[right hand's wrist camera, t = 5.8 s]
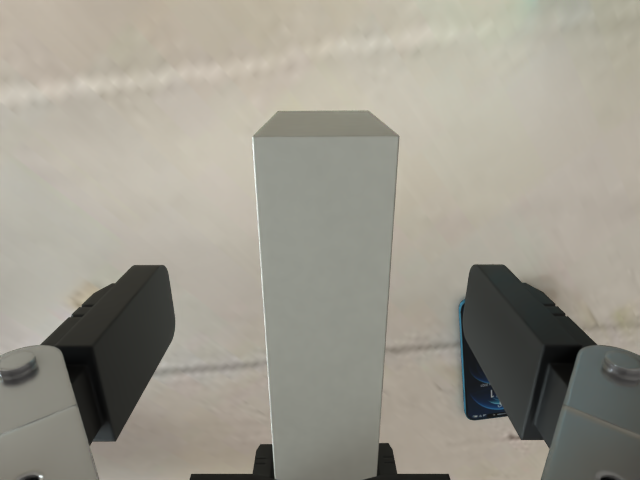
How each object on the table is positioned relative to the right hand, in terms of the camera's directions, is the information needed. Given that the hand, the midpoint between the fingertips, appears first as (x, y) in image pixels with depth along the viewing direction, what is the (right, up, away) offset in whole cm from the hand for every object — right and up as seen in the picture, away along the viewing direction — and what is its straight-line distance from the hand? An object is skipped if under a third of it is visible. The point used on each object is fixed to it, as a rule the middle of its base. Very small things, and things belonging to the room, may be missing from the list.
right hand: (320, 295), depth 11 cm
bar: (0, -3, +17) cm, 17 cm away
